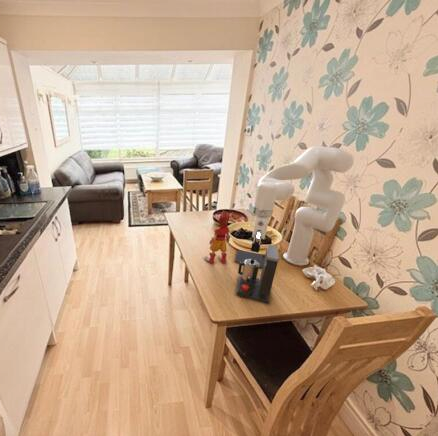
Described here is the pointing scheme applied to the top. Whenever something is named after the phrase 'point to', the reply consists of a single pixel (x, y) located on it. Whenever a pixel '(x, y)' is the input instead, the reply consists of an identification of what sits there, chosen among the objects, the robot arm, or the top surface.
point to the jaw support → (319, 277)
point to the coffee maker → (252, 292)
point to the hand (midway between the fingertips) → (255, 246)
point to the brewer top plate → (249, 257)
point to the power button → (245, 287)
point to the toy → (220, 238)
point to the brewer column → (267, 270)
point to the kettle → (249, 270)
